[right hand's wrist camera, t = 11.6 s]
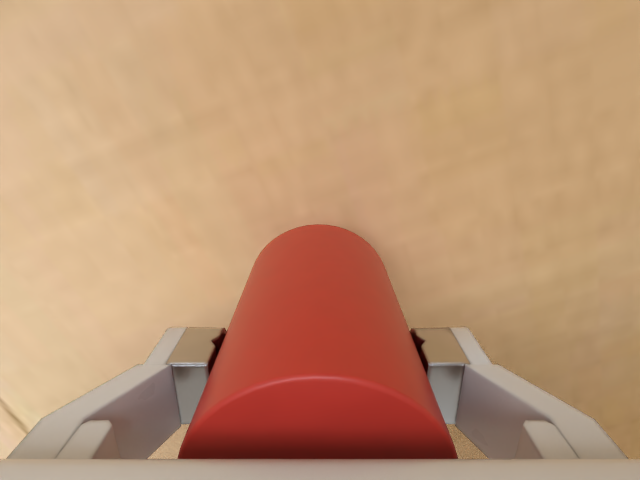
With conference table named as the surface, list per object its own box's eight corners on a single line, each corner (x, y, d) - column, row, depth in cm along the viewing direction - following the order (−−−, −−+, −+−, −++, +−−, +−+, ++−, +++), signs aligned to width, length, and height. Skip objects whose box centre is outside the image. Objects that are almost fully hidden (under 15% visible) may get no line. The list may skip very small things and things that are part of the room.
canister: (253, 216, 13) (169, 361, 6) (399, 231, 13) (496, 392, 6) (246, 340, 15) (176, 570, 7) (375, 352, 15) (427, 588, 8)
